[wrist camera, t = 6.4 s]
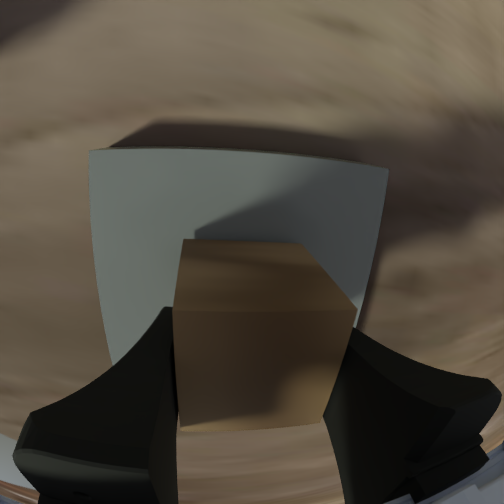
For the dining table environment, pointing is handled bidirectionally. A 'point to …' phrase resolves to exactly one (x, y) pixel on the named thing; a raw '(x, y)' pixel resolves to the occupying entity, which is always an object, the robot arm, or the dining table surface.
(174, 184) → the plinth
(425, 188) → the dining table surface
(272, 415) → the walnut cube
